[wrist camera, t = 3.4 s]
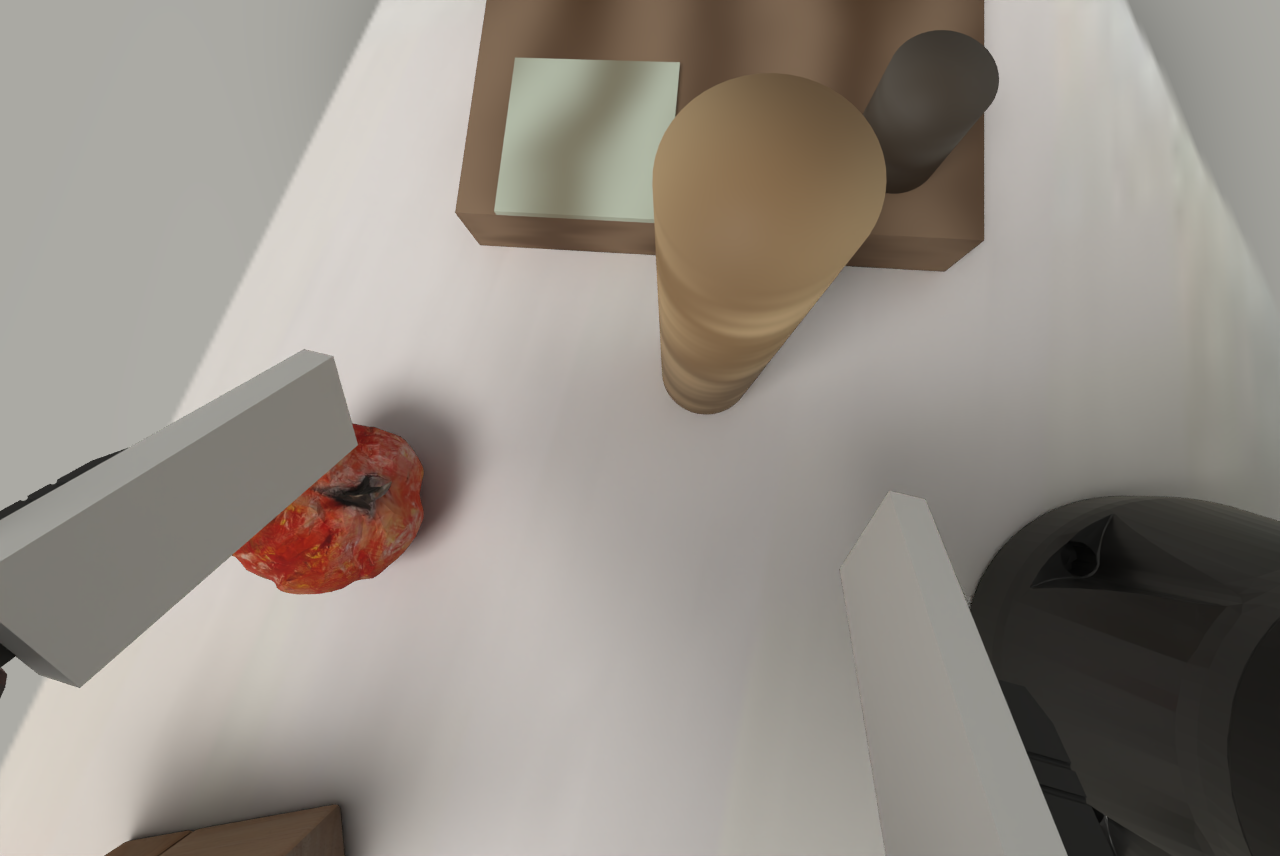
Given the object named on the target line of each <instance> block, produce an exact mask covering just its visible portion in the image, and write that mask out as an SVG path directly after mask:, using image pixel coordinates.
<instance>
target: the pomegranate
mask: <svg viewBox="0 0 1280 856" xmlns="http://www.w3.org/2000/svg"><path fill="white" fill-rule="evenodd" d="M352 425H353V429H354V432H355V436H356V440H357V443H358V445H357V446H356V447H355V448H354V449H353V450H352V451H351V452H349V453H348V454H347V455H346V456H345V457H344V458H343V459H341V460H340V461H339V462H338V463H337V464H336V465H335V466H333V467H332V468H331V469H330V470H329V471H328V472H327V473H325V474H324V475H323V476H322V477H321V478H320V479H319V480H317V481H316V482H315V483H314V484H313V485H312V486H311V487H309V488H308V489H307V490H306V491H305V492H304V493H303V494H301V495H300V496H299V497H298V498H297V499H296V500H294V501H293V502H292V503H291V504H290V505H289V506H288V507H286V508H285V509H284V510H283V511H282V512H281V513H280V514H278V515H277V516H276V517H275V518H274V519H273V520H272V521H270V522H269V523H268V524H267V525H266V526H265V527H264V528H262V529H261V530H260V531H259V532H258V533H257V534H256V535H254V536H253V537H252V538H251V539H250V540H249V541H248V542H246V543H245V544H244V545H243V546H242V547H241V548H240V549H238V550H237V551H236V552H235V553H234V554H233V555H232V556H235V557H236V558H237V559H238V560H239V561H240V562H241V563H242V564H243V566H244V567H245V568H246V570H248V571H250V572H252V573H254V574H256V575H258V576H261V577H263V578H266V579H269V580H272V581H273V582H275V584H276V586H277V588H278V589H279V590H281V591H283V592H286V593H292V594H320V593H326V592H332V591H335V590H339V589H342V588H344V587H346V586H347V585H349V584H351V583H352V582H354V581H357V580H361V579H370V578H374V577H376V576H377V575H379V574H380V573H381V572H382V571H383V570H385V569H386V568H387V567H388V566H389V565H390V564H391V563H393V562H394V561H395V560H396V559H397V558H398V557H399V556H400V555H401V554H403V553H404V552H405V550H406V549H407V548H408V546H409V545H410V544H411V542H412V541H413V540H414V538H415V537H416V534H417V532H418V530H419V528H420V525H421V523H422V520H423V507H422V504H421V500H420V495H419V494H420V488H421V483H422V479H423V475H424V471H423V467H422V465H421V462H420V460H419V459H418V457H417V455H416V454H415V452H414V450H413V449H412V448H411V446H410V445H409V444H408V443H407V442H406V441H405V440H404V439H402V437H401V436H398V435H395V434H392V433H389V432H386V431H384V430H381V429H378V428H375V427H367V426H362V425H357V424H353V423H352Z"/></svg>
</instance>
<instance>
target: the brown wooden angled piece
mask: <svg viewBox="0 0 1280 856" xmlns="http://www.w3.org/2000/svg"><path fill="white" fill-rule="evenodd" d="M105 856H345V852H344V842H343V831H342V821H341V810H340V807H339V805H336V804H335V805H329V806H324V807H318V808H312V809H307V810H301V811H296V812H290V813H284V814H279V815H273V816H268V817H262V818H256V819H251V820H245V821H240V822H234V823H229V824H223V825H217V826H212V827H206V828H201V829H197V830H195V831H194V832H193V831H190V830H188V831H182V832H176V833H171V834H165V835H160V836H154V837H148V838H143V839H137V840H132V841H128V842H125V843H123V844H122V845H120V846H119V847H117V848H115V849H114V850H112V851H111V852H109V853H108V854H106V855H105Z"/></svg>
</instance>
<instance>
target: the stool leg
mask: <svg viewBox="0 0 1280 856" xmlns="http://www.w3.org/2000/svg"><path fill="white" fill-rule="evenodd" d="M886 182H887V180H886V165H885V160H884V155H883V152H882V149H881V146H880V143H879V140H878V138H877V136H876V134H875V132H874V130H873V129H872V127H871V125H870V124H869V123H868V121H867V120H866V118H865V117H864V116H863V115H862V114H861V112H860V111H859V110H858V109H857V108H856V107H855V106H854V105H853V104H852V103H850V102H849V101H848V100H847V99H846V98H844V97H843V96H842V95H840V94H839V93H837V92H835V91H834V90H832V89H831V88H829V87H827V86H824V85H822V84H820V83H818V82H816V81H813V80H810V79H807V78H804V77H799V76H794V75H789V74H778V73H761V74H753V75H746V76H741V77H738V78H734V79H730V80H728V81H725V82H723V83H720V84H718V85H715V86H714V87H712V88H710V89H708V90H706V91H704V92H703V93H701V94H700V95H699V96H697V97H696V98H694V99H693V100H692V101H691V102H689V103H688V104H687V105H686V106H685V107H684V108H683V109H682V110H681V111H680V112H679V113H678V115H677V116H676V117H675V118H674V119H673V120H672V122H671V124H670V125H669V127H668V128H667V130H666V131H665V133H664V135H663V137H662V140H661V142H660V144H659V146H658V150H657V153H656V156H655V160H654V167H653V180H652V188H653V207H654V226H655V246H656V265H657V284H658V304H659V323H660V342H661V362H662V377H663V382H664V385H665V388H666V390H667V392H668V394H669V395H670V396H671V398H672V399H673V400H674V401H675V402H676V403H677V404H678V405H680V406H681V407H682V408H684V409H686V410H688V411H691V412H694V413H698V414H715V413H719V412H722V411H724V410H726V409H728V408H730V407H732V406H733V405H734V404H735V403H736V402H738V401H739V400H740V398H741V397H742V396H743V394H744V393H745V392H746V391H747V389H748V388H749V387H750V386H751V384H752V383H753V382H754V381H755V379H756V378H757V377H758V375H759V374H760V373H761V372H762V370H763V369H764V368H765V367H766V365H767V364H768V363H769V362H770V360H771V359H772V358H773V356H774V355H775V354H776V353H777V351H778V350H779V349H780V348H781V346H782V345H783V344H784V343H785V341H786V340H787V339H788V338H789V336H790V335H791V334H792V332H793V331H794V330H795V329H796V327H797V326H798V325H799V324H800V322H801V321H802V320H803V319H804V317H805V316H806V315H807V313H808V312H809V311H810V310H811V308H812V307H813V306H814V305H815V303H816V302H817V301H818V300H819V298H820V297H821V296H822V294H823V293H824V292H825V291H826V289H827V288H828V287H829V286H830V284H831V283H832V282H833V281H834V279H835V278H836V277H837V275H838V274H839V273H840V272H841V270H842V269H843V268H844V267H845V265H846V264H847V263H848V262H849V260H850V259H851V258H852V256H853V255H854V254H855V253H856V251H857V250H858V249H859V248H860V246H861V245H862V244H863V243H864V241H865V240H866V239H867V238H868V236H869V235H870V233H871V231H872V229H873V228H874V226H875V224H876V222H877V220H878V218H879V215H880V213H881V210H882V206H883V202H884V199H885V192H886Z"/></svg>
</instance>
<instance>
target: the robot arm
mask: <svg viewBox="0 0 1280 856" xmlns="http://www.w3.org/2000/svg"><path fill="white" fill-rule="evenodd" d="M357 445H358V443H357V440H356V436H355V432H354V429H353V425H352V422H351V418H350V414H349V411H348V407H347V404H346V400H345V397H344V393H343V389H342V386H341V382H340V379H339V375H338V371H337V368H336V364H335V361H334V357H333V356H330V355H326V354H322V353H318V352H314V351H309V350H305V349H304V350H302V351H300V352H298V353H297V354H295V355H293V356H291V357H289V358H288V359H286V360H284V361H282V362H281V363H279V364H277V365H275V366H273V367H272V368H270V369H268V370H266V371H265V372H263V373H261V374H259V375H257V376H256V377H254V378H252V379H250V380H249V381H247V382H245V383H243V384H241V385H240V386H238V387H236V388H234V389H233V390H231V391H229V392H227V393H225V394H224V395H222V396H220V397H218V398H217V399H215V400H213V401H211V402H209V403H208V404H206V405H204V406H202V407H201V408H199V409H197V410H195V411H193V412H192V413H190V414H188V415H186V416H184V417H183V418H181V419H179V420H177V421H176V422H174V423H172V424H170V425H168V426H167V427H165V428H163V429H161V430H160V431H158V432H156V433H154V434H152V435H151V436H149V437H147V438H145V439H144V440H142V441H140V442H138V443H137V444H135V445H133V446H131V447H129V448H126V449H123V450H121V451H118V452H115V453H113V454H109V455H107V456H104V457H101V458H98V459H95V460H93V461H90V462H89V463H87V464H85V465H83V466H81V467H80V468H78V469H76V470H74V471H72V472H70V473H69V474H67V475H65V476H63V477H61V478H60V479H58V480H57V483H56V484H54V485H52V484H49V485H47V486H45V487H43V488H42V489H40V490H38V491H36V492H34V493H32V494H30V495H29V496H28V499H27V500H25V501H21V500H20V501H18V502H16V503H14V504H12V505H10V506H9V507H7V508H5V509H3V510H1V511H0V697H1V695H2V693H3V691H4V688H5V685H6V678H7V674H6V673H5V671H4V670H3V669H2V668H1V667H2V666H3V665H4V664H6V663H7V662H8V661H10V660H11V659H12V658H14V657H15V656H16V657H17V658H18V659H20V660H21V661H22V662H24V663H25V664H26V665H27V666H29V667H30V668H31V669H32V670H34V671H35V672H36V673H38V674H39V675H41V676H44V677H47V678H51V679H54V680H57V681H60V682H63V683H66V684H69V685H72V686H75V687H79V688H80V687H82V686H83V685H84V684H85V683H86V682H87V681H88V680H90V679H91V678H92V677H93V676H94V675H95V674H96V673H98V672H99V671H100V670H101V669H102V668H103V667H104V666H106V665H107V664H108V663H109V662H110V661H111V660H112V659H114V658H115V657H116V656H117V655H118V654H119V653H120V652H122V651H123V650H124V649H125V648H126V647H127V646H128V645H130V644H131V643H132V642H133V641H134V640H135V639H136V638H138V637H139V636H140V635H141V634H142V633H143V632H144V631H146V630H147V629H148V628H149V627H150V626H151V625H153V624H154V623H155V622H156V621H157V620H158V619H159V618H161V617H162V616H163V615H164V614H165V613H166V612H167V611H169V610H170V609H171V608H172V607H173V606H174V605H175V604H177V603H178V602H179V601H180V600H181V599H182V598H183V597H185V596H186V595H187V594H188V593H189V592H190V591H191V590H193V589H194V588H195V587H196V586H197V585H198V584H199V583H201V582H202V581H203V580H204V579H205V578H206V577H207V576H209V575H210V574H211V573H212V572H213V571H214V570H215V569H217V568H218V567H219V566H220V565H221V564H222V563H223V562H225V561H226V560H227V559H228V558H229V557H230V556H232V555H233V554H234V553H235V552H236V551H237V550H238V549H240V548H241V547H242V546H243V545H244V544H245V543H246V542H248V541H249V540H250V539H251V538H252V537H253V536H254V535H256V534H257V533H258V532H259V531H260V530H261V529H262V528H264V527H265V526H266V525H267V524H268V523H269V522H270V521H272V520H273V519H274V518H275V517H276V516H277V515H278V514H280V513H281V512H282V511H283V510H284V509H285V508H286V507H288V506H289V505H290V504H291V503H292V502H293V501H294V500H296V499H297V498H298V497H299V496H300V495H301V494H303V493H304V492H305V491H306V490H307V489H308V488H309V487H311V486H312V485H313V484H314V483H315V482H316V481H317V480H319V479H320V478H321V477H322V476H323V475H324V474H325V473H327V472H328V471H329V470H330V469H331V468H332V467H333V466H335V465H336V464H337V463H338V462H339V461H340V460H341V459H343V458H344V457H345V456H346V455H347V454H348V453H349V452H351V451H352V450H353V449H354V448H355V447H356V446H357ZM840 575H841V581H842V587H843V593H844V600H845V606H846V612H847V618H848V624H849V631H850V637H851V643H852V649H853V655H854V662H855V668H856V674H857V680H858V687H859V693H860V699H861V705H862V711H863V718H864V724H865V730H866V736H867V742H868V749H869V755H870V761H871V767H872V774H873V780H874V786H875V792H876V798H877V805H878V811H879V817H880V823H881V829H882V836H883V842H884V848H885V854H886V856H1280V521H1277V520H1274V519H1270V518H1267V517H1264V516H1260V515H1257V514H1254V513H1251V512H1247V511H1244V510H1241V509H1237V508H1234V507H1230V506H1227V505H1223V504H1219V503H1213V502H1208V501H1203V500H1196V499H1189V498H1181V497H1159V496H1108V497H1098V498H1092V499H1086V500H1082V501H1078V502H1074V503H1071V504H1068V505H1065V506H1062V507H1060V508H1058V509H1055V510H1053V511H1051V512H1049V513H1047V514H1045V515H1043V516H1041V517H1039V518H1038V519H1036V520H1034V521H1033V522H1031V523H1030V524H1028V525H1027V526H1026V527H1024V528H1023V529H1022V530H1020V531H1019V532H1018V533H1017V534H1016V535H1015V536H1014V537H1012V538H1011V539H1010V540H1009V541H1008V542H1007V543H1006V544H1005V546H1004V547H1003V548H1002V549H1001V550H1000V551H999V553H998V554H997V555H996V556H995V558H994V559H993V561H992V562H991V564H990V565H989V567H988V568H987V570H986V572H985V574H984V575H983V577H982V579H981V581H980V584H979V586H978V588H977V591H976V593H975V596H974V599H973V602H972V605H971V609H970V610H969V607H968V605H967V602H966V600H965V597H964V595H963V592H962V590H961V587H960V585H959V582H958V580H957V577H956V575H955V572H954V570H953V567H952V565H951V562H950V560H949V557H948V555H947V552H946V550H945V547H944V545H943V542H942V540H941V537H940V534H939V532H938V529H937V527H936V524H935V522H934V519H933V517H932V514H931V512H930V509H929V507H928V504H927V502H926V499H922V498H918V497H914V496H910V495H906V494H902V493H898V492H893V491H889V492H888V493H887V495H886V496H885V498H884V500H883V501H882V503H881V504H880V506H879V507H878V509H877V511H876V512H875V514H874V515H873V517H872V519H871V520H870V522H869V523H868V525H867V526H866V528H865V530H864V531H863V533H862V534H861V536H860V538H859V539H858V541H857V542H856V544H855V545H854V547H853V549H852V550H851V552H850V553H849V555H848V557H847V558H846V560H845V561H844V563H843V564H842V566H841V568H840Z"/></svg>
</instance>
